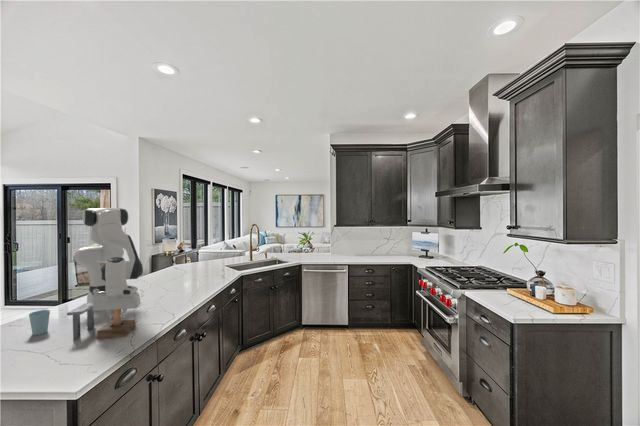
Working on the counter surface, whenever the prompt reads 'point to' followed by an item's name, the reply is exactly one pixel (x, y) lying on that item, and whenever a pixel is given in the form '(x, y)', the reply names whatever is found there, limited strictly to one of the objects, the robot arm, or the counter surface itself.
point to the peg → (116, 318)
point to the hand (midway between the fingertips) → (117, 318)
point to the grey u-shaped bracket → (76, 318)
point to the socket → (116, 329)
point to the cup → (39, 321)
